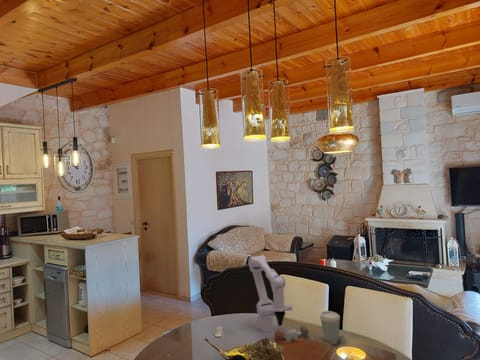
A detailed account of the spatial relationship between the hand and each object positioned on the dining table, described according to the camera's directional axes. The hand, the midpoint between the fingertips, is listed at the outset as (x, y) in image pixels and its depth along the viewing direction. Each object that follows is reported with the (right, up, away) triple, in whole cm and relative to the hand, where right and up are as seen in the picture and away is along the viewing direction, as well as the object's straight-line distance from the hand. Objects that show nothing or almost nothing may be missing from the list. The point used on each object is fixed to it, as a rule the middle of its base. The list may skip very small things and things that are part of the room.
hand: (280, 324), depth 183 cm
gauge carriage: (+8, -7, -1) cm, 11 cm away
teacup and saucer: (-36, -12, +14) cm, 41 cm away
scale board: (+6, -9, 0) cm, 11 cm away
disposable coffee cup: (+27, -8, -3) cm, 28 cm away
